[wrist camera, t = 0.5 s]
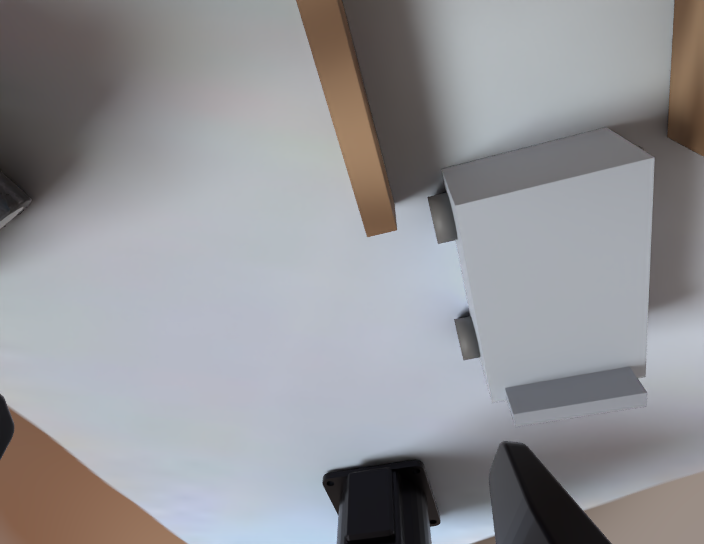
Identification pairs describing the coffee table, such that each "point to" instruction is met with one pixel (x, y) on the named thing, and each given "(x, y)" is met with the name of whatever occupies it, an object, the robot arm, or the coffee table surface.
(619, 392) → the white block with knob
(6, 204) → the toy excavator
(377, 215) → the bay
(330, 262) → the coffee table surface
